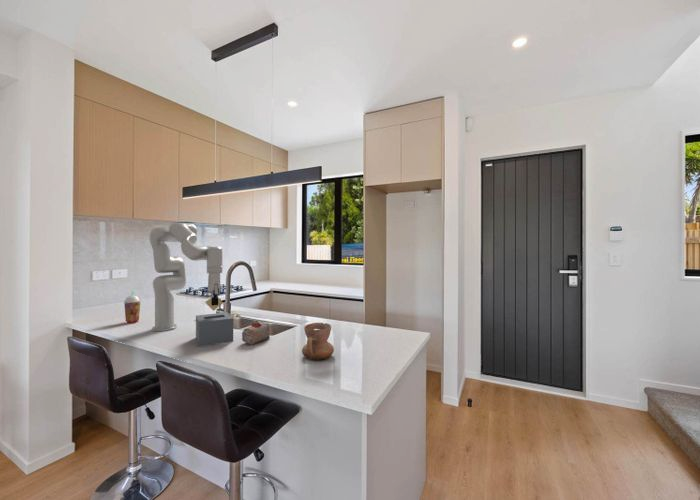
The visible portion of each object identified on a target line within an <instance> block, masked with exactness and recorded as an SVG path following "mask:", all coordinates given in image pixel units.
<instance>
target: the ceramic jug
mask: <svg viewBox="0 0 700 500" xmlns="http://www.w3.org/2000/svg"><path fill="white" fill-rule="evenodd" d="M303 329H304V334H305V336H306V339H307V340H306V343H305V344H304V345H303V346H302V349H301V354H302V355H303V356H304V358H305V357H306V358H307V359H310V360H314V361H315V360H316V361H317V360H318V361H319V360H325V359H327V358H330V357H331V356H332V355H333V354H334V351H335V349H334V348H335V347H334V346H333V344H332V343H331V342H329V341H328V340H329V338H330V336H331V331H332V325H331V324H329V323H327V322H313V323H312V322H311V323H307V324H306V325H304V327H303Z"/></svg>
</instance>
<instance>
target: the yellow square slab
mask: <svg viewBox="0 0 700 500" xmlns="http://www.w3.org/2000/svg"><path fill="white" fill-rule="evenodd" d="M204 302H205V304H206V305H207V306H208V307H209V308H210V309H211V310H212V311H213V312H214V311H216V309H218V308H219V307H220V306H222V304H224V302H223V301H222V300H221V299H220V298H219V297H218V305H213V306H212V297H211V296H210V298H209V299H207V300H206V301H204Z"/></svg>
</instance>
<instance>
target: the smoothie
mask: <svg viewBox="0 0 700 500" xmlns="http://www.w3.org/2000/svg"><path fill="white" fill-rule="evenodd" d="M123 303H124V314H125V315H124V316H125V317H124V318H125V322H126V324H136V323H139V320H140V309H141V299H140V298H139V297H138V296H137V295H135V294H134V290H132V291H131V295H129V296H127V297H126V298H125V300H124V301H123Z"/></svg>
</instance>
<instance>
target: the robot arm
mask: <svg viewBox="0 0 700 500" xmlns="http://www.w3.org/2000/svg"><path fill="white" fill-rule="evenodd" d="M197 234H198V229H197V227H196V225H195V224H193V223H190V222H179V221H178V222H173V223H171V224H170V225H169V227H166V226H158V227H155V228H153V229H151V231H150V233H149V242H150V245H151V248H152V252H153V253H152V254H153V265H154V270H155V271H156V273H159V274H165V275H158V276H156V277H155V278H154V279H153V281H152V287H153V291H154V326H152V328H151V331H153V332H167V331H172V330H174V329H177V327H178V325H177V324H176V323H175V322H174V321H175V297H174V295H173V294H172V293H171V292H172V291H178V290H183V289H184V288H185V287H186V284H187V278H186V267H185V262H184V260H183V258H181V257H179V256H171V250H170V248H169V246H168V245H167V244H166V242H167V243H169V242H170V243H171V242H172V243H180V248H181V249H180V250H181V252H182V254H183V255H184V256H186V258H188V259H189V260H190V261H194V262H196V261H197V262H198V261H206V274H208V277H207V291H208V292H209V293H210V298H211V297H212V306H213V305H218V298H219V292H220V291H221V274H223V248H222V247H221V246H209V245H208V246H207V245H206V246H204V245H202V246H201V245H198V246H197V245H196V246H195V244H196V242H197V240H198V238H197ZM169 273H172V274H169Z"/></svg>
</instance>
